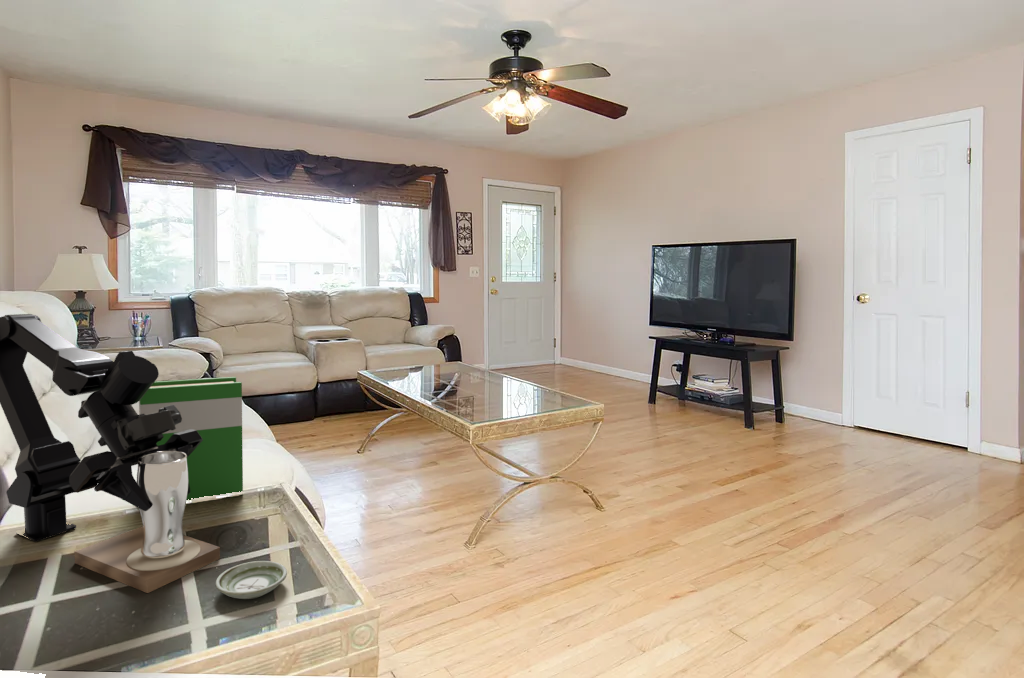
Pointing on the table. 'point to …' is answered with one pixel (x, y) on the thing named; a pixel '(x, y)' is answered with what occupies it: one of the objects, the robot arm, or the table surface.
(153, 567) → the walnut base
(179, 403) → the hardback book
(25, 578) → the table surface
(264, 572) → the saucer
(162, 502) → the metal tumbler
